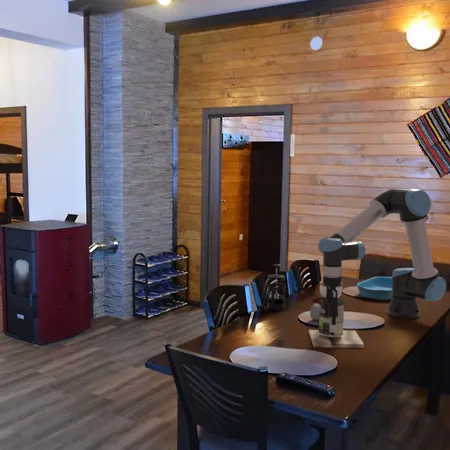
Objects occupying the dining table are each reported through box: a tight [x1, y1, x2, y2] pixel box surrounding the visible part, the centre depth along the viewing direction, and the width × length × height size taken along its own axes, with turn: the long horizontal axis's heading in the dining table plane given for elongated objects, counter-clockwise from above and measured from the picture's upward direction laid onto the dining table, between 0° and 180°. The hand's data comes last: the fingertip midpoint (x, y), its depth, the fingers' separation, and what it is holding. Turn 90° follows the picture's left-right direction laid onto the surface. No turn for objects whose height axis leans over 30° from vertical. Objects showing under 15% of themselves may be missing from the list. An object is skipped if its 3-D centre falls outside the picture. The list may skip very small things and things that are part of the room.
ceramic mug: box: [309, 303, 319, 321], centre depth 248 cm, size 11×8×8 cm
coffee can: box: [318, 297, 345, 337], centre depth 218 cm, size 10×10×14 cm
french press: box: [266, 263, 286, 311], centre depth 270 cm, size 12×9×23 cm
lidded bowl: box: [319, 280, 343, 299], centre depth 290 cm, size 13×13×11 cm
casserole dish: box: [356, 276, 392, 301], centre depth 300 cm, size 37×22×7 cm, turn 140°
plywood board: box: [308, 329, 365, 349], centre depth 219 cm, size 20×18×2 cm
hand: (331, 328), depth 219 cm, fingers closed on coffee can, 10 cm apart
